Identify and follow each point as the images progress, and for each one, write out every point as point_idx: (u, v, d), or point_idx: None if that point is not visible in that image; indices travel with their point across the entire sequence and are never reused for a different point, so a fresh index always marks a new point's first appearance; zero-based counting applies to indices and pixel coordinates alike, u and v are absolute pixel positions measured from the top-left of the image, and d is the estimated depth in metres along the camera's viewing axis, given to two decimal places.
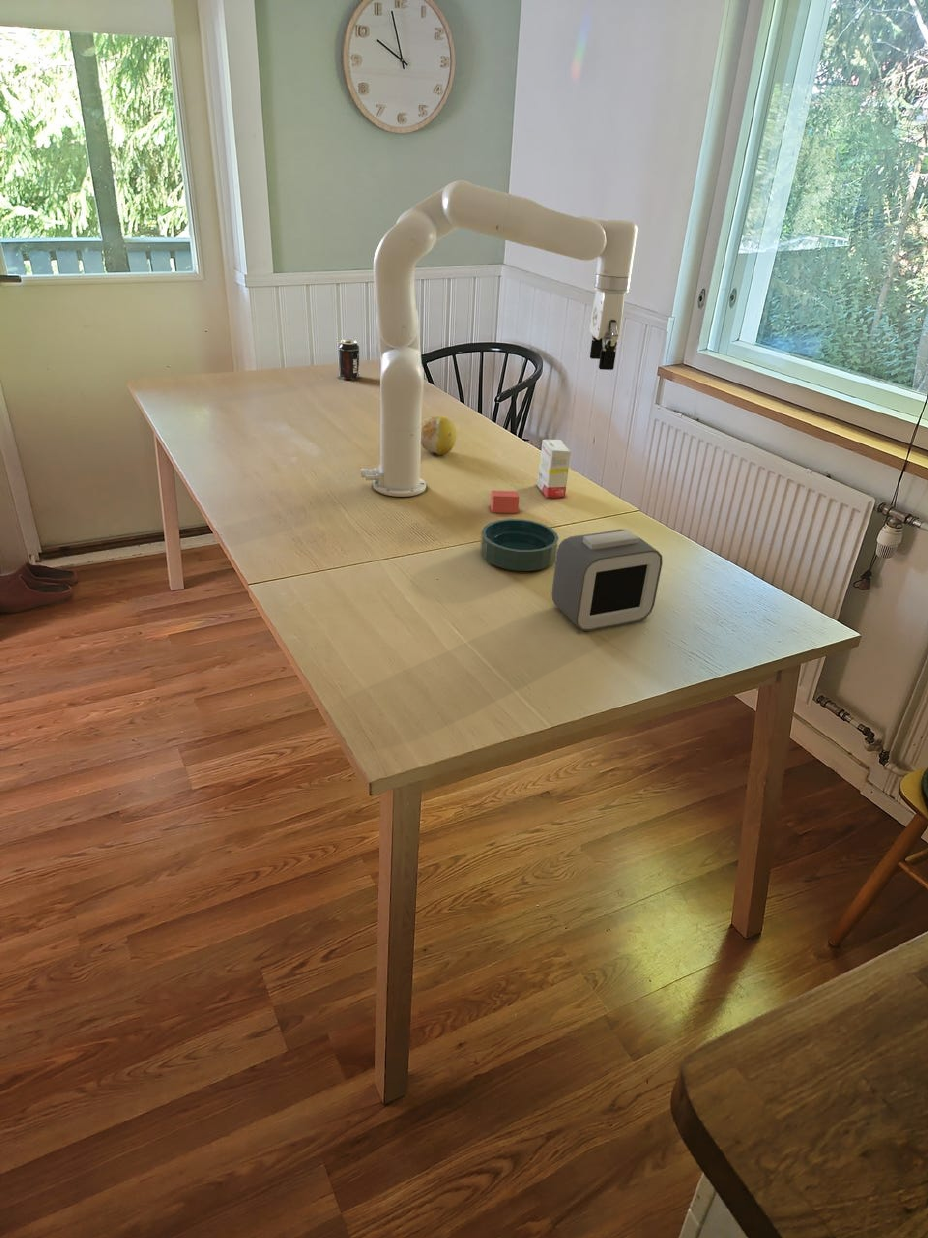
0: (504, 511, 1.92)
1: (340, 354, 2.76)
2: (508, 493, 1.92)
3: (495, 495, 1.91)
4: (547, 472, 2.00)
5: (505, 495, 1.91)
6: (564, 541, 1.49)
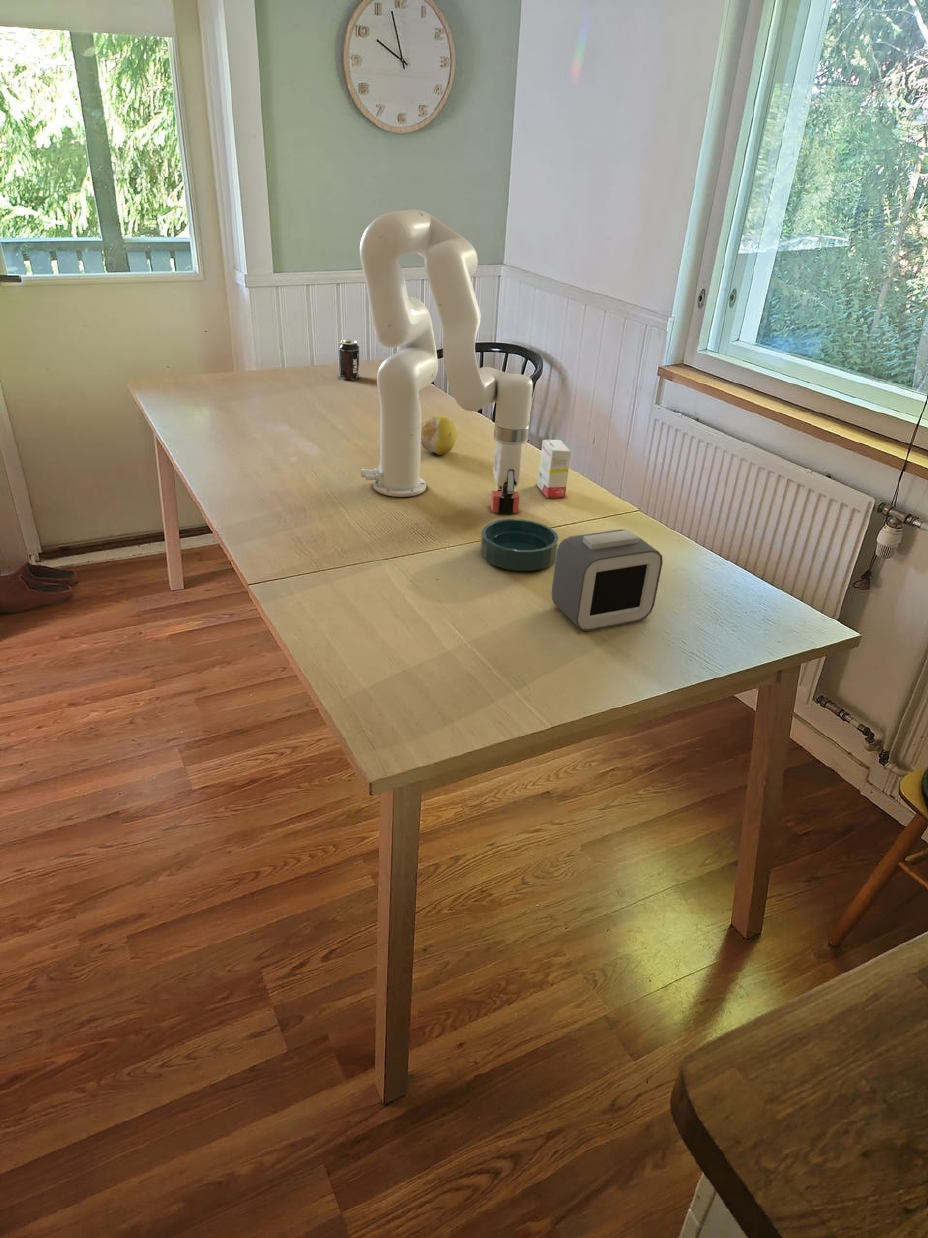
0: None
1: (340, 354, 2.76)
2: None
3: (495, 495, 1.91)
4: (547, 472, 2.00)
5: None
6: (564, 541, 1.49)
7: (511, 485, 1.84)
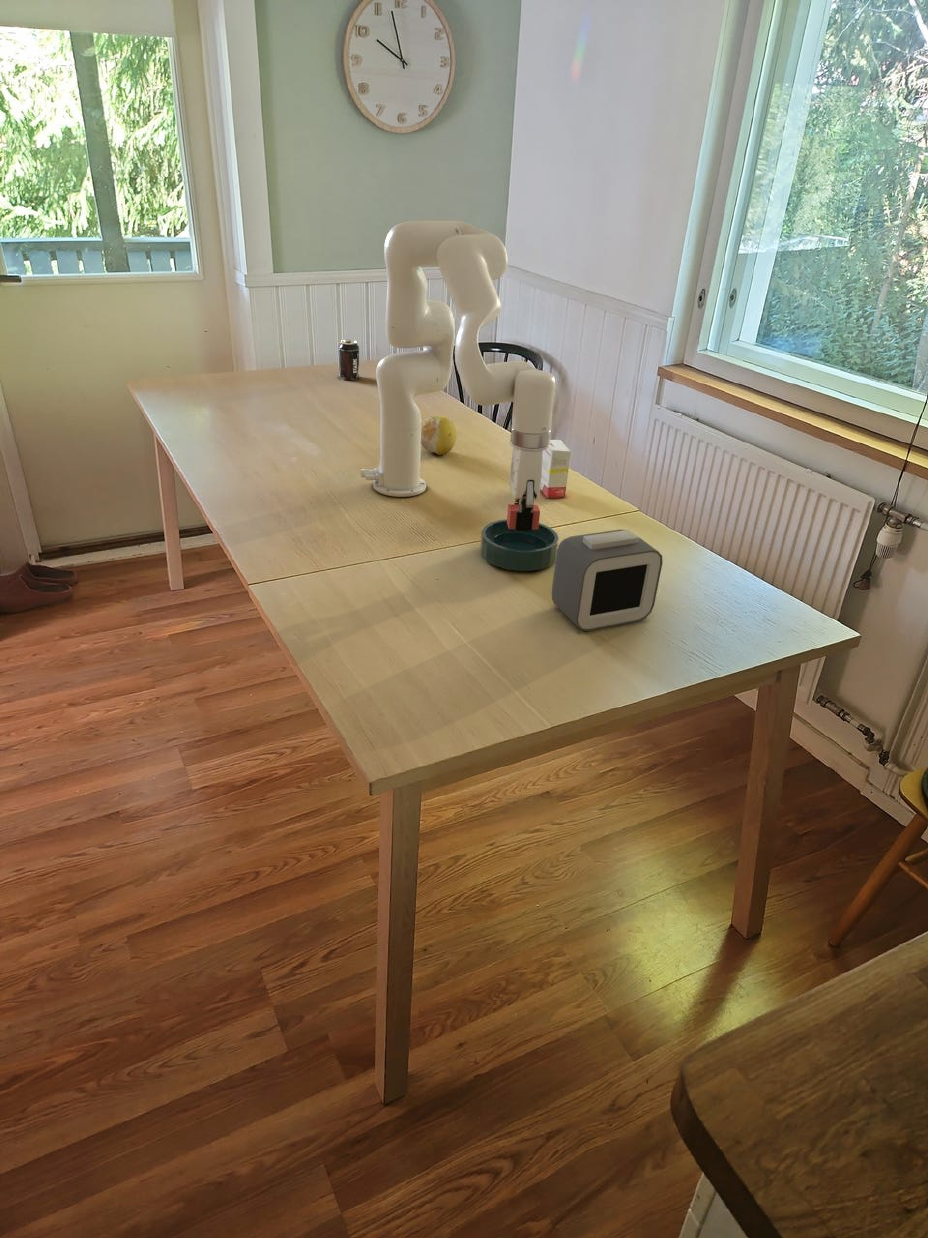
0: None
1: (340, 354, 2.76)
2: None
3: (512, 509, 1.66)
4: (547, 472, 2.00)
5: None
6: (564, 541, 1.49)
7: (531, 498, 1.60)
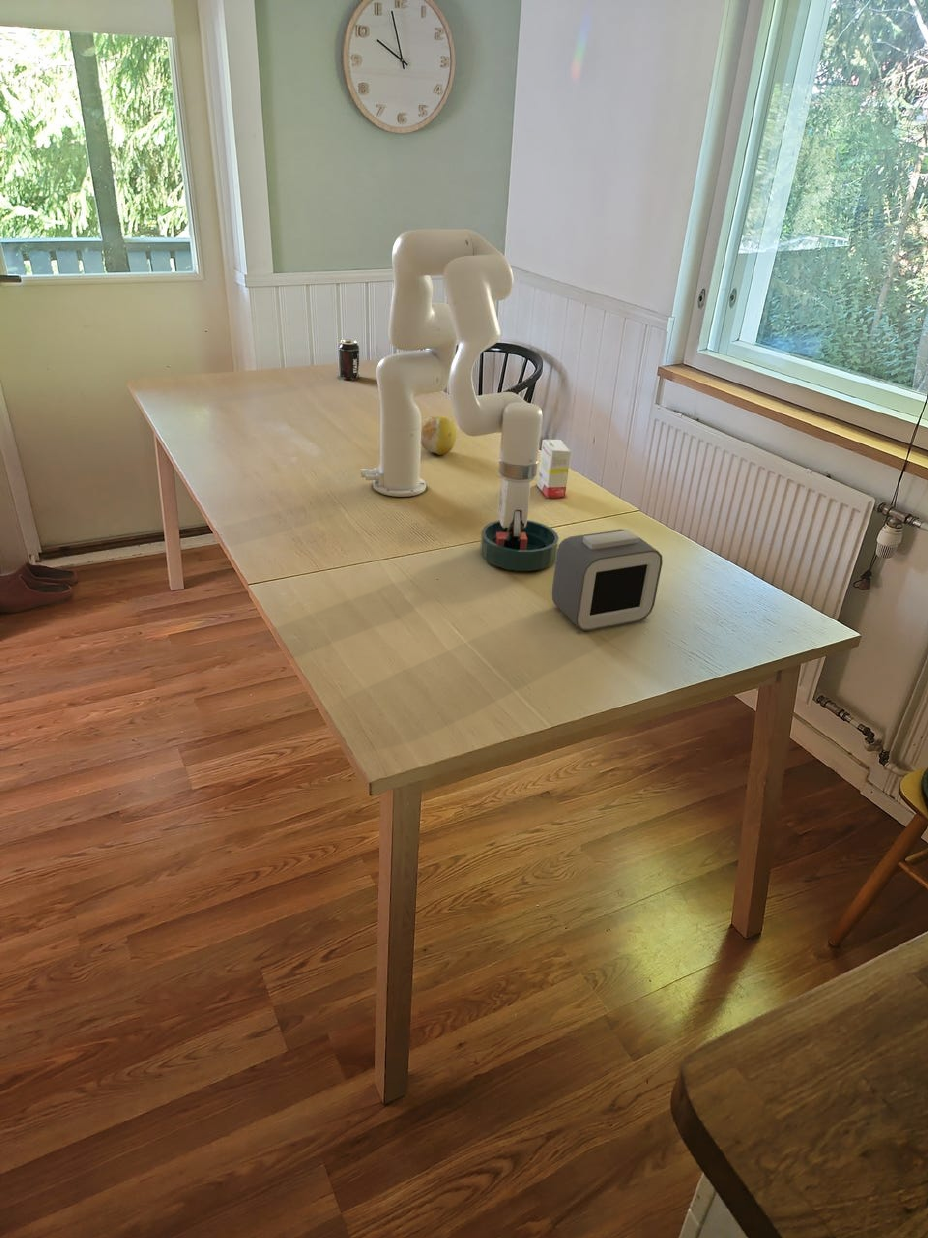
0: None
1: (340, 354, 2.76)
2: None
3: (500, 537, 1.70)
4: (547, 472, 2.00)
5: None
6: (564, 541, 1.49)
7: (518, 527, 1.63)
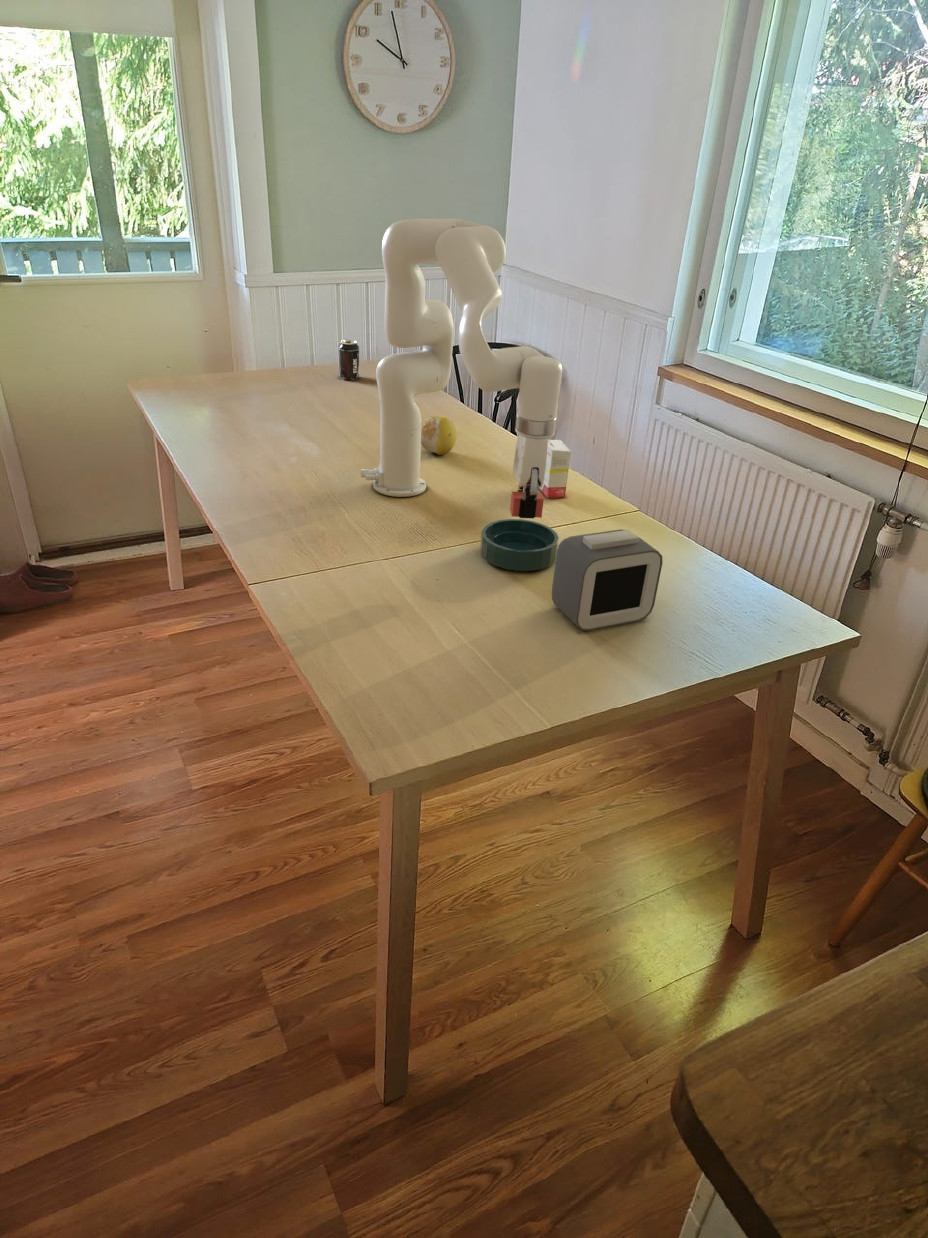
0: None
1: (340, 354, 2.76)
2: None
3: (516, 497, 1.66)
4: (547, 472, 2.00)
5: None
6: (564, 541, 1.49)
7: (535, 486, 1.59)
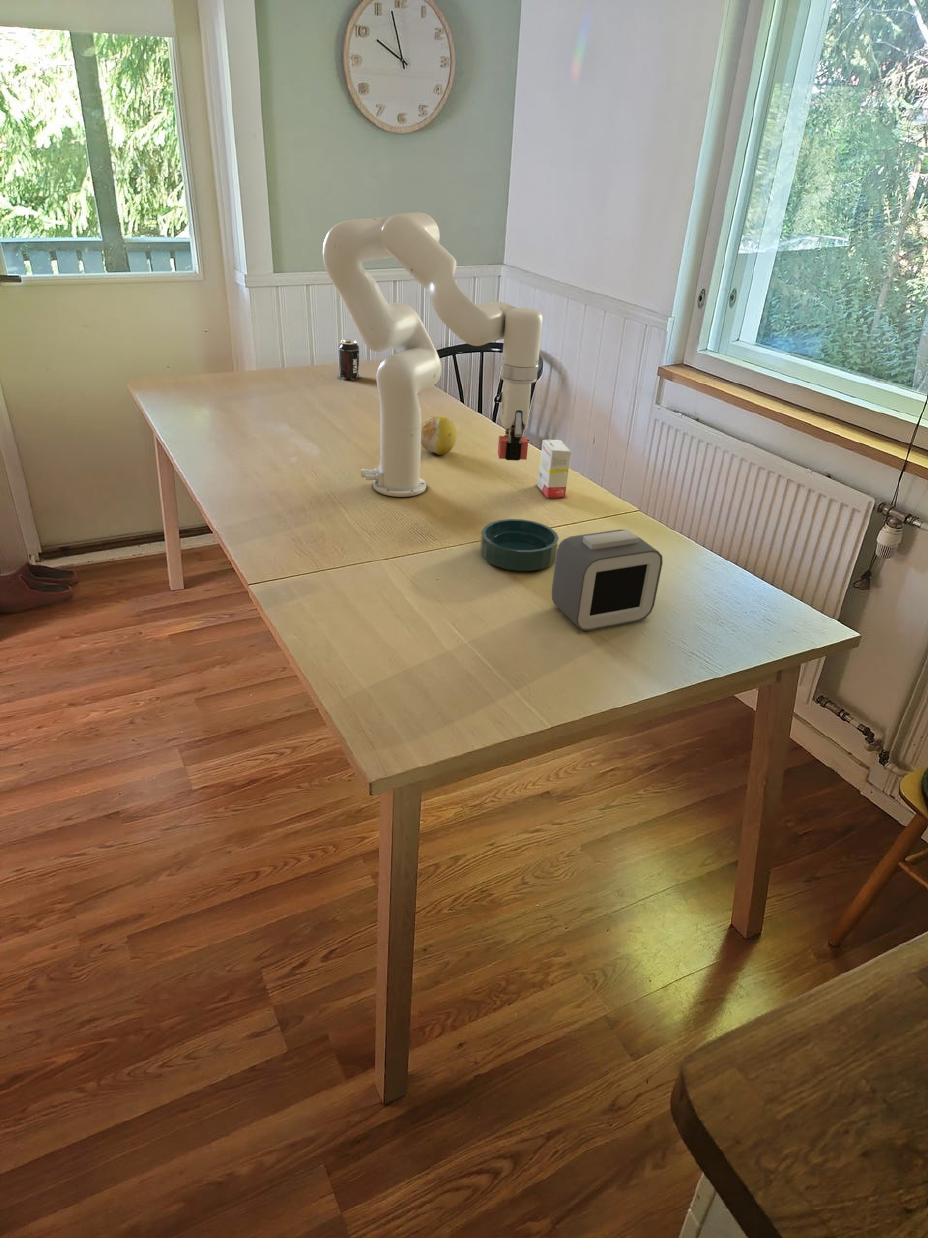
0: None
1: (340, 354, 2.76)
2: None
3: (502, 440, 1.80)
4: (547, 472, 2.00)
5: None
6: (564, 541, 1.49)
7: (519, 427, 1.74)
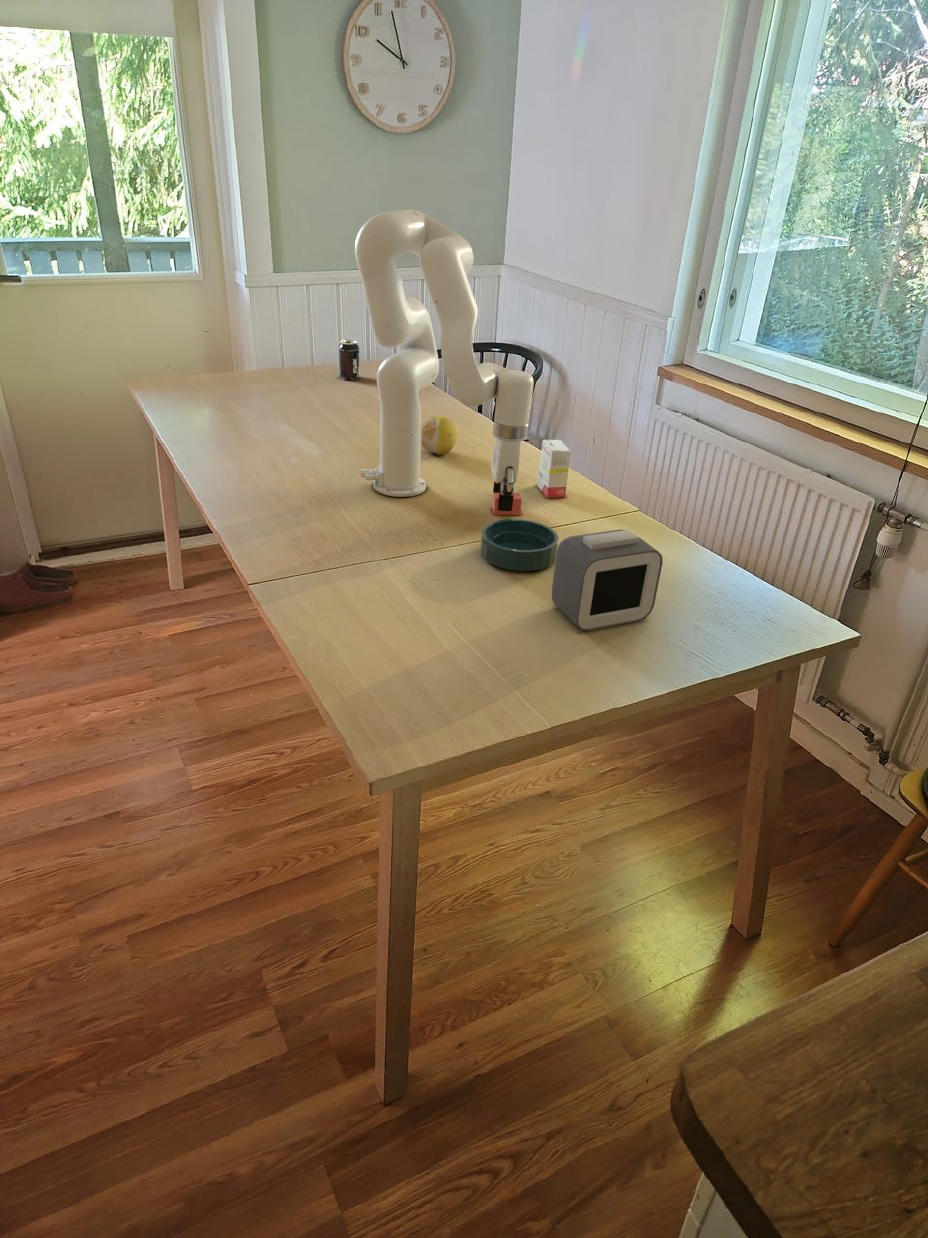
0: (506, 513, 1.91)
1: (340, 354, 2.76)
2: None
3: (497, 497, 1.90)
4: (547, 472, 2.00)
5: None
6: (564, 541, 1.49)
7: (510, 472, 1.82)
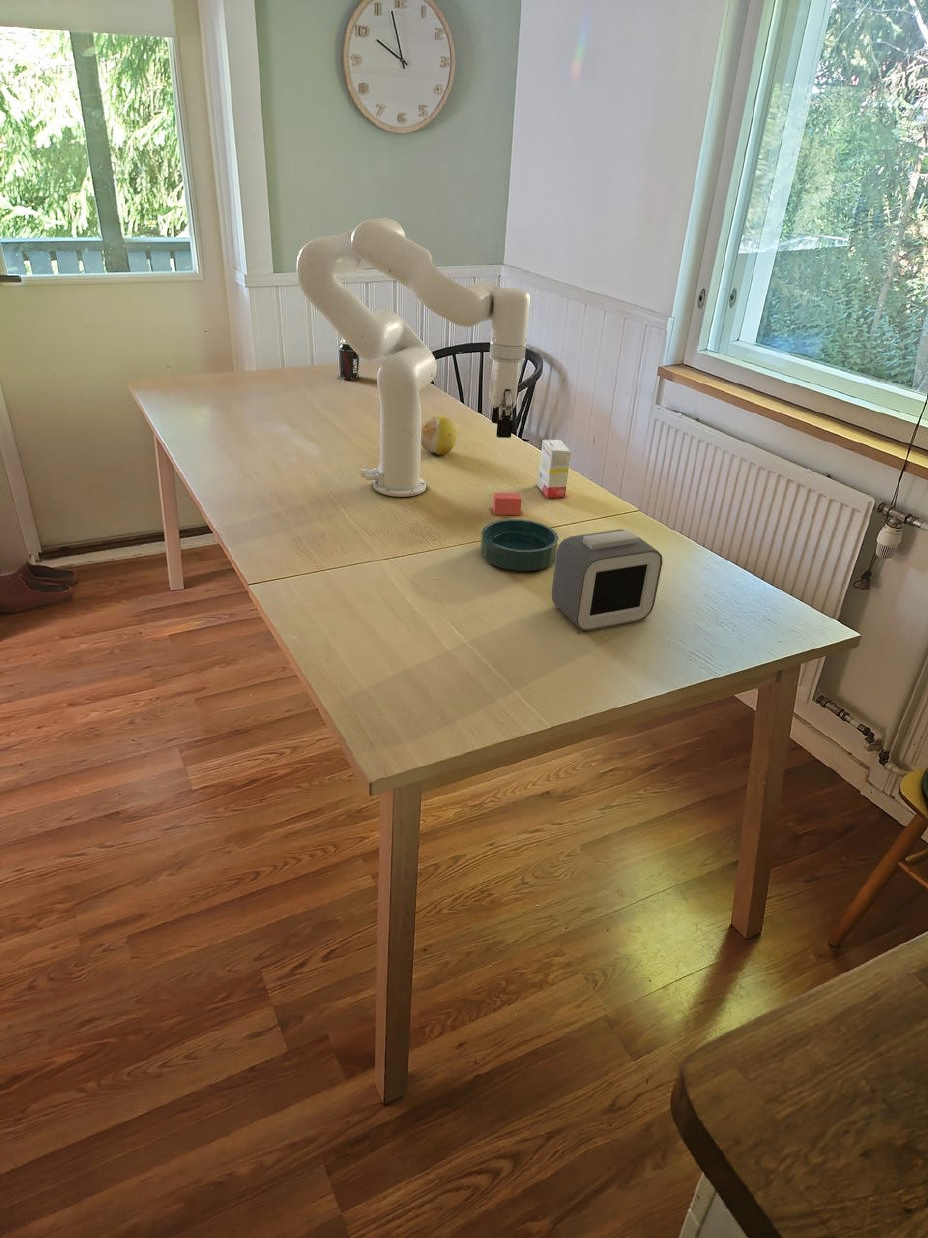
0: (506, 513, 1.91)
1: (340, 354, 2.76)
2: (510, 495, 1.91)
3: (497, 497, 1.90)
4: (547, 472, 2.00)
5: (507, 497, 1.90)
6: (564, 541, 1.49)
7: (509, 395, 1.76)
